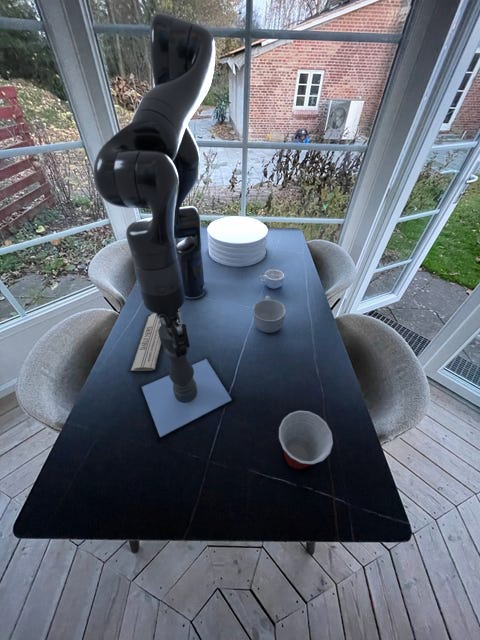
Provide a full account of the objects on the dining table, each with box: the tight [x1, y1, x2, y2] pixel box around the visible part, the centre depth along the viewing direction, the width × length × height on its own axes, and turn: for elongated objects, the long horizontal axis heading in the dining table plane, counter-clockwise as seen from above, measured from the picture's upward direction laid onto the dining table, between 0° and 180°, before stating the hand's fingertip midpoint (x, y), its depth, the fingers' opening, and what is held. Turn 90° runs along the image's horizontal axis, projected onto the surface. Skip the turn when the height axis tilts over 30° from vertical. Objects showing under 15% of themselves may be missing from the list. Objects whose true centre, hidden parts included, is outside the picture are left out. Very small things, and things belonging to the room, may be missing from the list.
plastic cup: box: [278, 410, 334, 470], centre depth 58 cm, size 11×11×12 cm
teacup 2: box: [252, 295, 287, 334], centre depth 91 cm, size 14×11×8 cm
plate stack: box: [206, 216, 269, 268], centre depth 126 cm, size 28×28×12 cm
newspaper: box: [130, 312, 162, 372], centre depth 86 cm, size 24×7×2 cm, turn 1°
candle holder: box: [158, 324, 197, 403], centre depth 64 cm, size 6×6×25 cm
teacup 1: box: [258, 269, 285, 290], centre depth 109 cm, size 10×8×5 cm
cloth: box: [141, 358, 233, 438], centre depth 73 cm, size 16×20×1 cm
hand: (174, 341), depth 58 cm, fingers open, 8 cm apart
